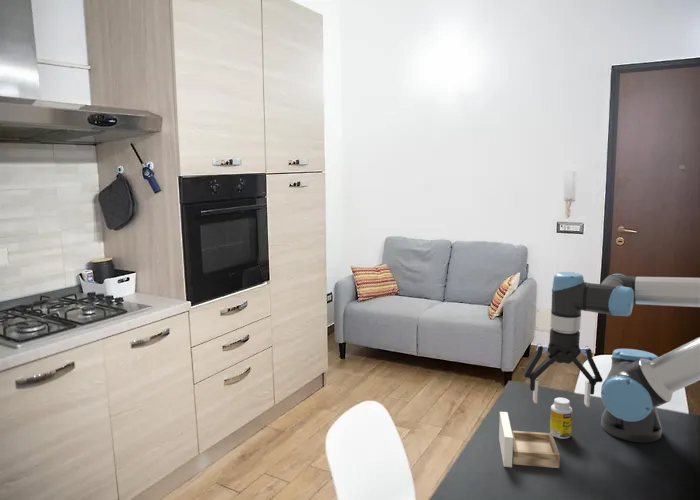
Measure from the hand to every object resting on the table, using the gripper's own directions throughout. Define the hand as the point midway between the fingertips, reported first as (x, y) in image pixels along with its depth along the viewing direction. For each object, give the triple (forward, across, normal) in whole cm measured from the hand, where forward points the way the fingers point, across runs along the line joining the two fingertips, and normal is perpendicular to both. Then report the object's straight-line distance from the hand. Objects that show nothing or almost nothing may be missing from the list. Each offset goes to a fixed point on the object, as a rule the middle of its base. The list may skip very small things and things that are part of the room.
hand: (560, 403), depth 148 cm
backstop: (+9, +16, +12) cm, 22 cm away
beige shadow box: (+9, +9, +12) cm, 18 cm away
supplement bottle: (+10, 0, 0) cm, 10 cm away
